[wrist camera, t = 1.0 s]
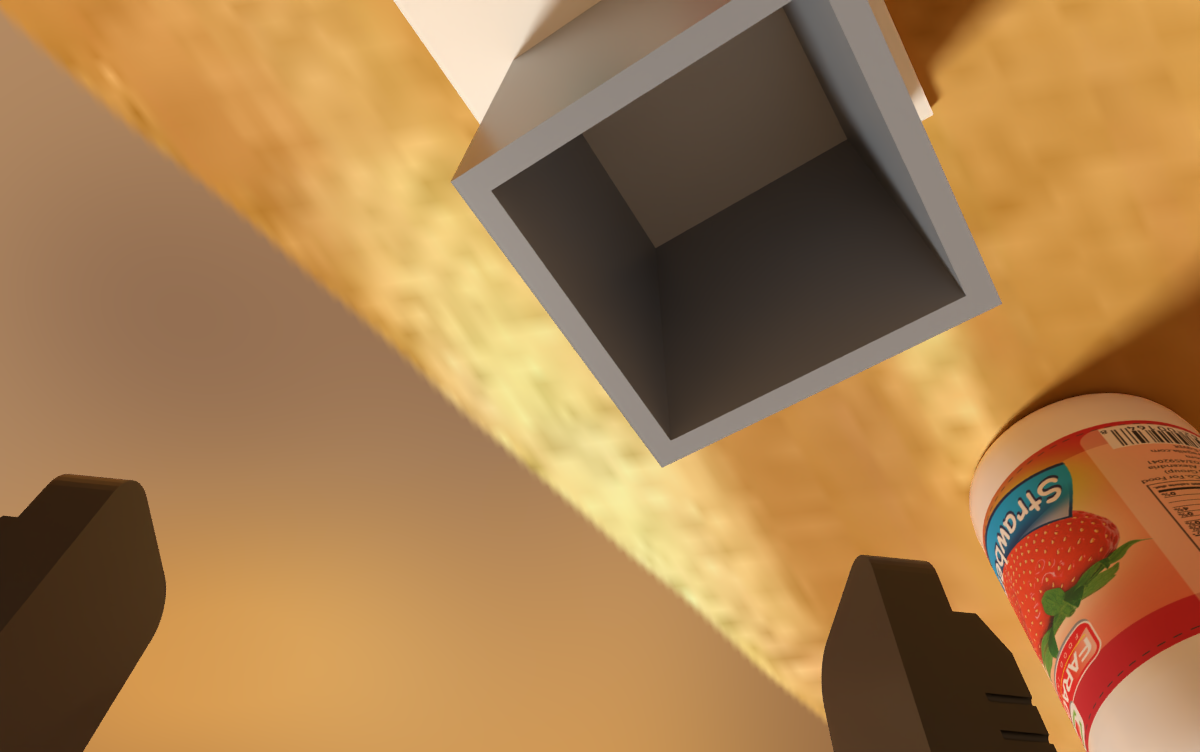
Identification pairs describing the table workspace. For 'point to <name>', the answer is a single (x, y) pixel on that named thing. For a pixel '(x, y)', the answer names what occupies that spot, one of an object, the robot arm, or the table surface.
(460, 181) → the tube card
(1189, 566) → the strawberry milk bottle
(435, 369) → the table surface
